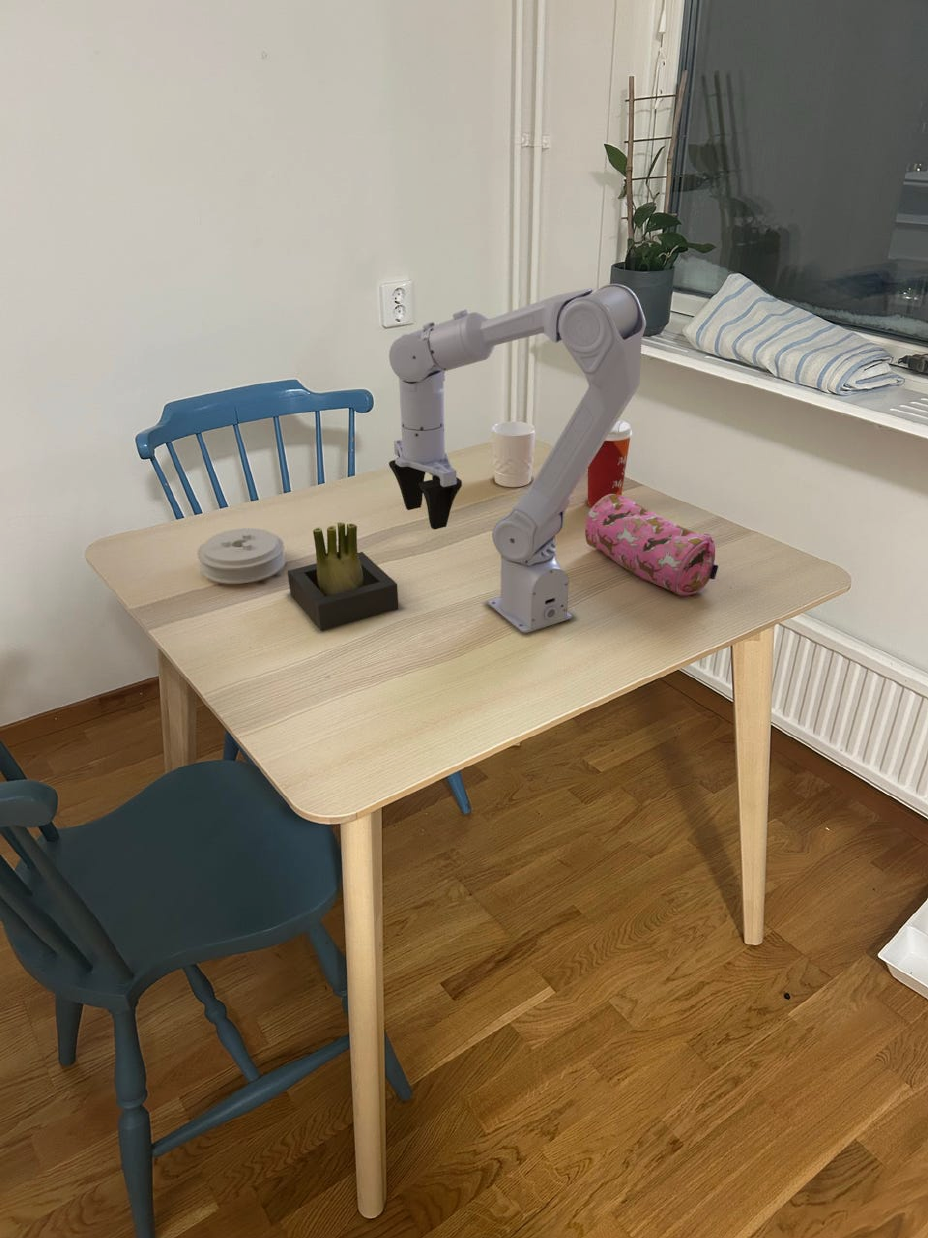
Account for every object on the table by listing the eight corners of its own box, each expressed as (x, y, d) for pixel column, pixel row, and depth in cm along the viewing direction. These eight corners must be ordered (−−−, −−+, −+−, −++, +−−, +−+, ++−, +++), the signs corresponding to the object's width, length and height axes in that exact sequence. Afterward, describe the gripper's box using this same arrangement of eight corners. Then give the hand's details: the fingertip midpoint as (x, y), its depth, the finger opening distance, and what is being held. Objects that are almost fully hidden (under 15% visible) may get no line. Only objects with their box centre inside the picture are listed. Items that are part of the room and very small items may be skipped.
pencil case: (721, 588, 128) (730, 532, 124) (675, 606, 124) (683, 549, 119) (618, 536, 143) (623, 484, 139) (574, 551, 139) (578, 498, 134)
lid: (261, 594, 128) (257, 563, 125) (184, 582, 131) (178, 552, 128) (300, 556, 138) (297, 527, 136) (228, 546, 141) (223, 517, 139)
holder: (398, 609, 124) (397, 583, 122) (320, 631, 119) (318, 605, 117) (364, 575, 132) (362, 551, 130) (290, 595, 127) (287, 570, 125)
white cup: (488, 487, 161) (488, 434, 156) (494, 471, 168) (494, 420, 163) (531, 489, 160) (533, 436, 155) (535, 473, 167) (537, 422, 162)
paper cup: (629, 512, 151) (636, 432, 144) (584, 512, 152) (589, 432, 144) (622, 494, 158) (629, 417, 151) (579, 494, 158) (584, 417, 151)
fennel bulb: (317, 608, 124) (309, 530, 118) (329, 591, 128) (322, 515, 122) (357, 612, 123) (350, 533, 117) (368, 595, 127) (362, 518, 121)
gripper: (372, 414, 122) (378, 505, 129) (421, 444, 111) (424, 543, 118) (418, 405, 125) (421, 495, 132) (470, 435, 114) (470, 531, 121)
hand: (425, 517), depth 125 cm, fingers open, 7 cm apart
